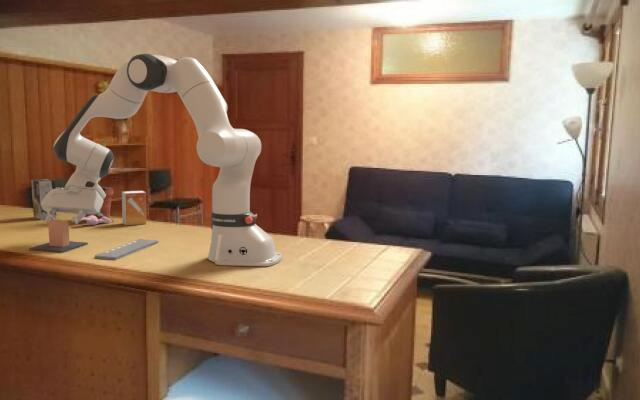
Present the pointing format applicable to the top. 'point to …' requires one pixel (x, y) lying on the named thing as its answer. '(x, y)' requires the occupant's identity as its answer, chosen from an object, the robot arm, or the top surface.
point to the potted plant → (106, 201)
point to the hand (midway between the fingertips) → (61, 222)
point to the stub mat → (58, 249)
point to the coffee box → (41, 196)
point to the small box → (134, 207)
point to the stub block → (58, 233)
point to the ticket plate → (126, 249)
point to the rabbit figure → (94, 220)
